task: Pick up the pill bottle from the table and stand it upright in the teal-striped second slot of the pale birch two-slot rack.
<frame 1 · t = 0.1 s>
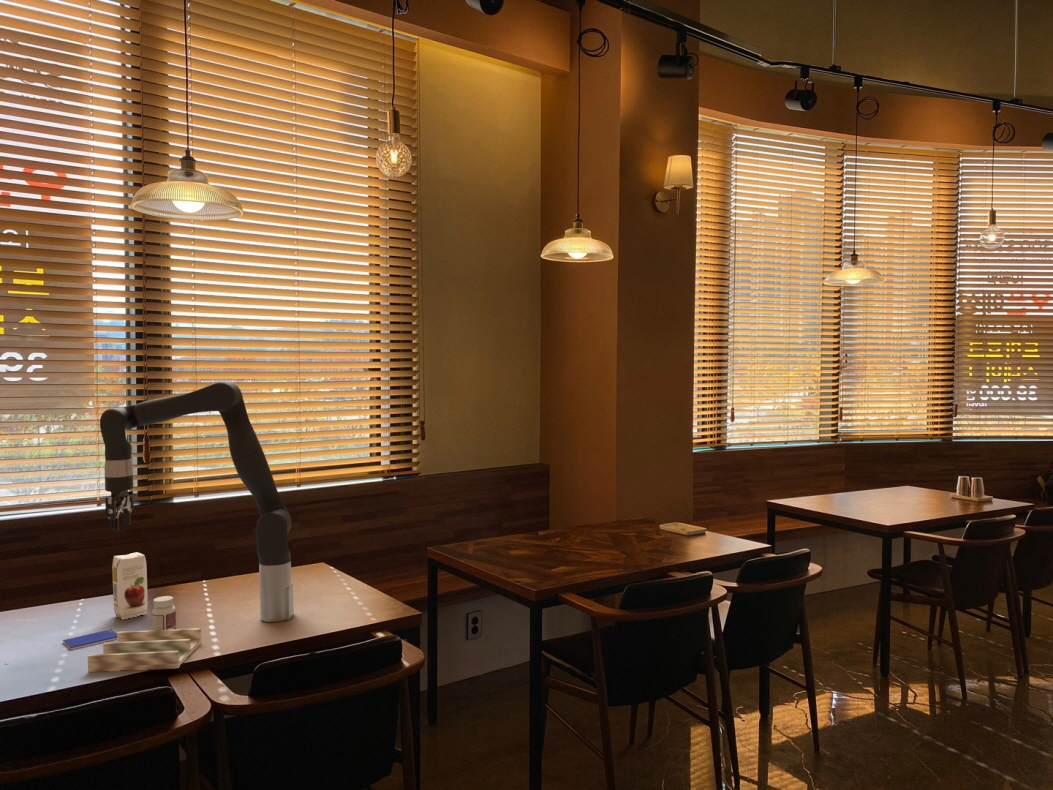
hand: (120, 528, 232), 29 cm above the table, tool pointing down, fingers open, 8 cm apart
slot rack: (147, 656, 206), on the table
pill bottle: (164, 638, 220), on the table
juice carton: (131, 616, 241), on the table
hard drive: (91, 643, 219), on the table
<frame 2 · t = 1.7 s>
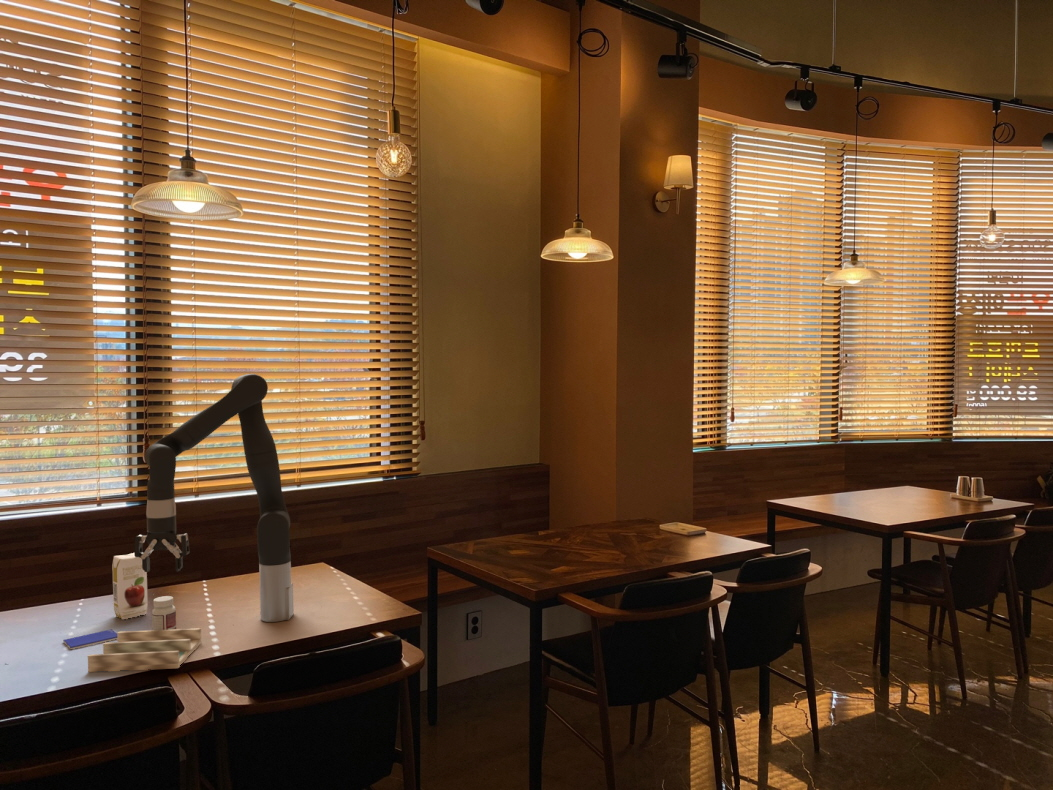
hand: (162, 571, 220), 19 cm above the table, tool pointing down, fingers open, 8 cm apart
nothing on the table moved.
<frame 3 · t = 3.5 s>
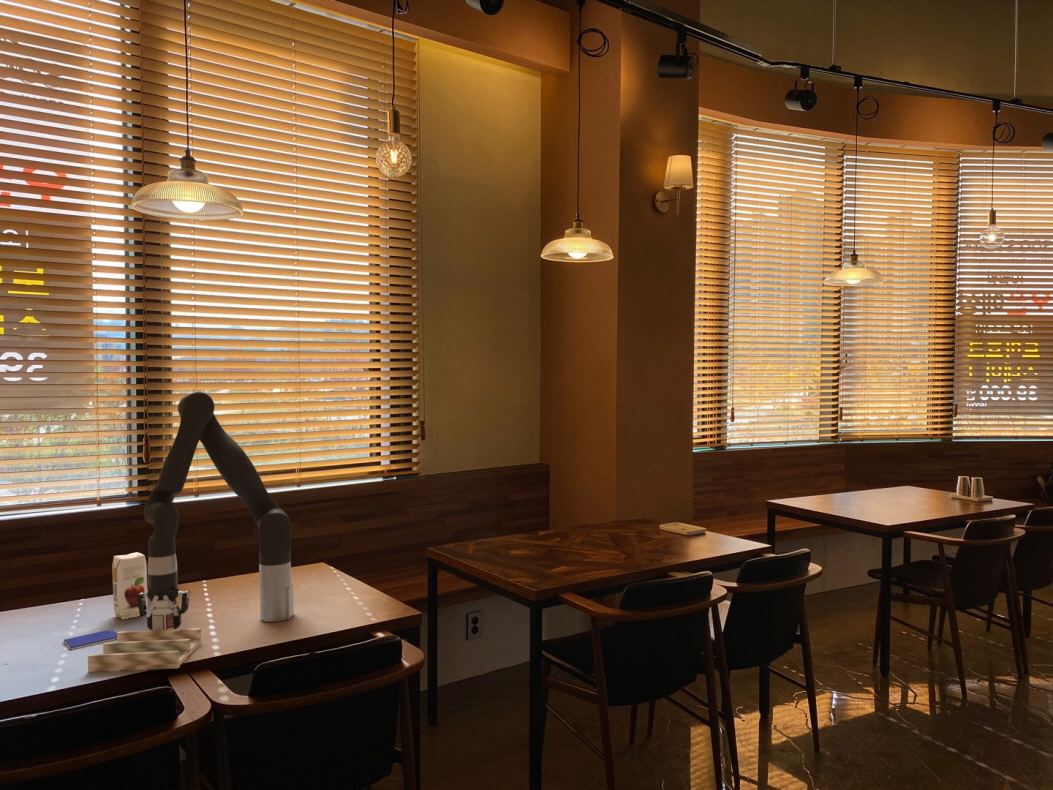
hand: (164, 628, 220), 3 cm above the table, tool pointing down, fingers closed on pill bottle, 6 cm apart
pill bottle: (164, 638, 220), on the table, touching gripper
everything else where it was.
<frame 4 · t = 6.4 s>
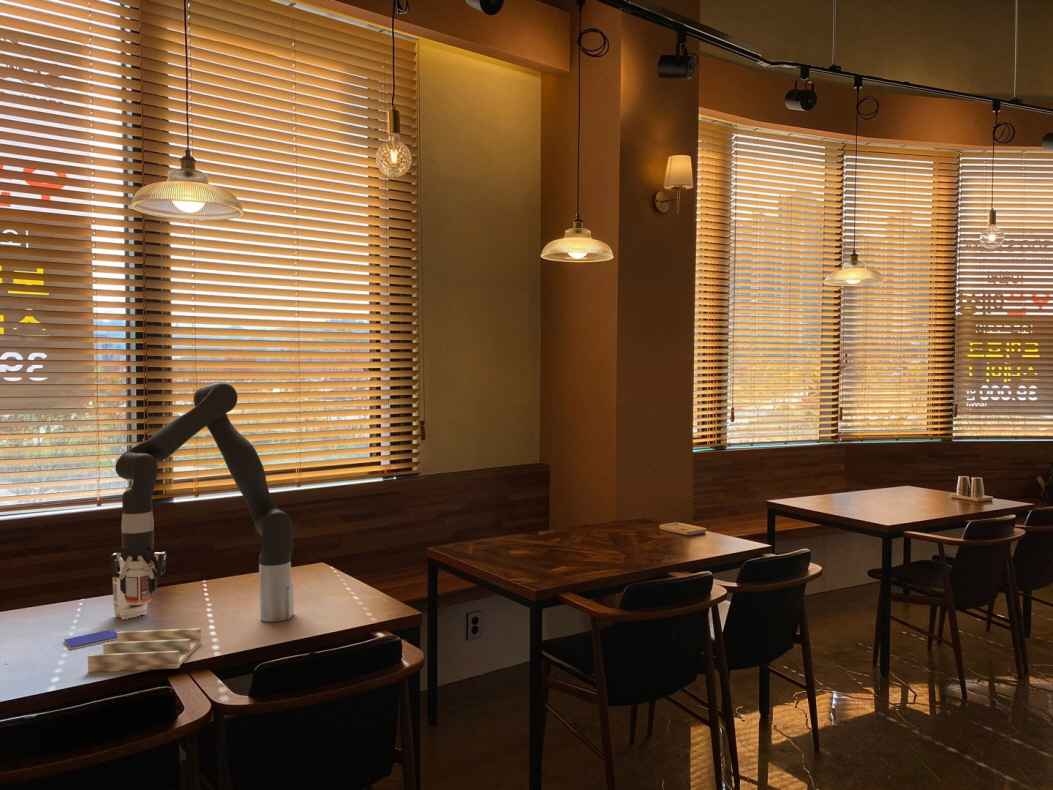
hand: (138, 592, 203), 18 cm above the table, tool pointing down, fingers closed on pill bottle, 6 cm apart
pill bottle: (139, 603, 203), point 15 cm above the table, touching gripper
everything else where it was.
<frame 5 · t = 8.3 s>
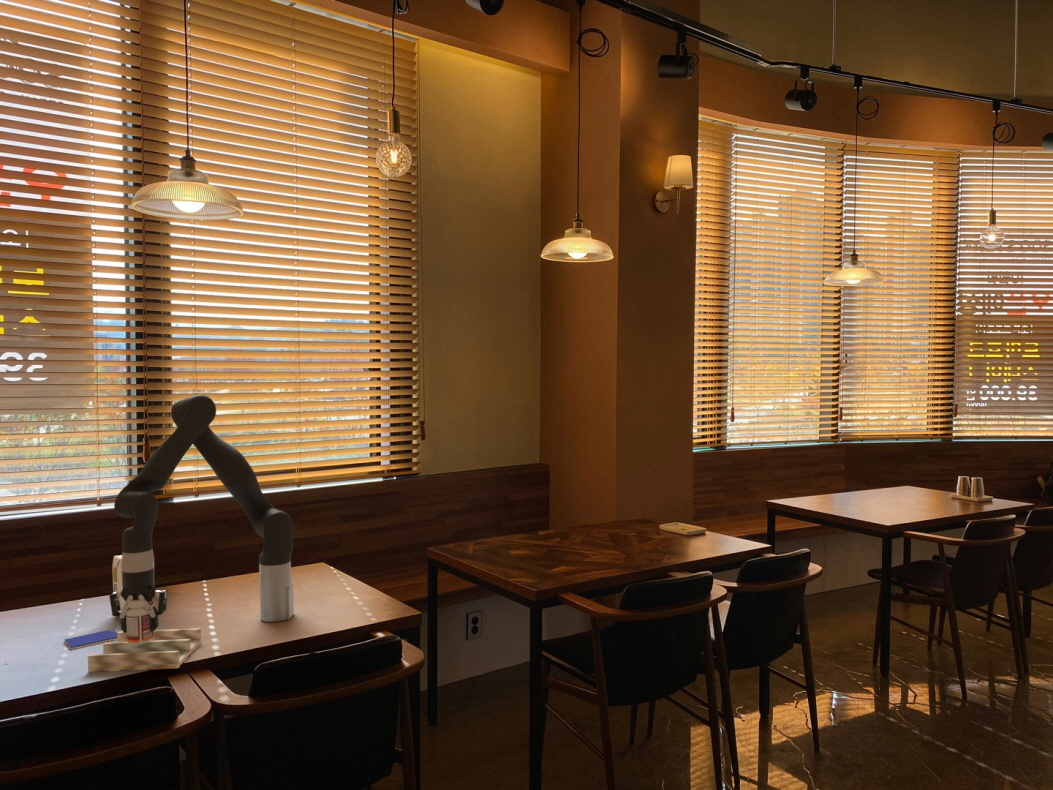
hand: (139, 630, 201), 8 cm above the table, tool pointing down, fingers closed on pill bottle, 6 cm apart
pill bottle: (140, 641, 201), point 6 cm above the table, touching gripper
everything else where it was.
when the fingers open (5 cm above the table, at t = 9.5 s): pill bottle drops 1 cm, resting on slot rack.
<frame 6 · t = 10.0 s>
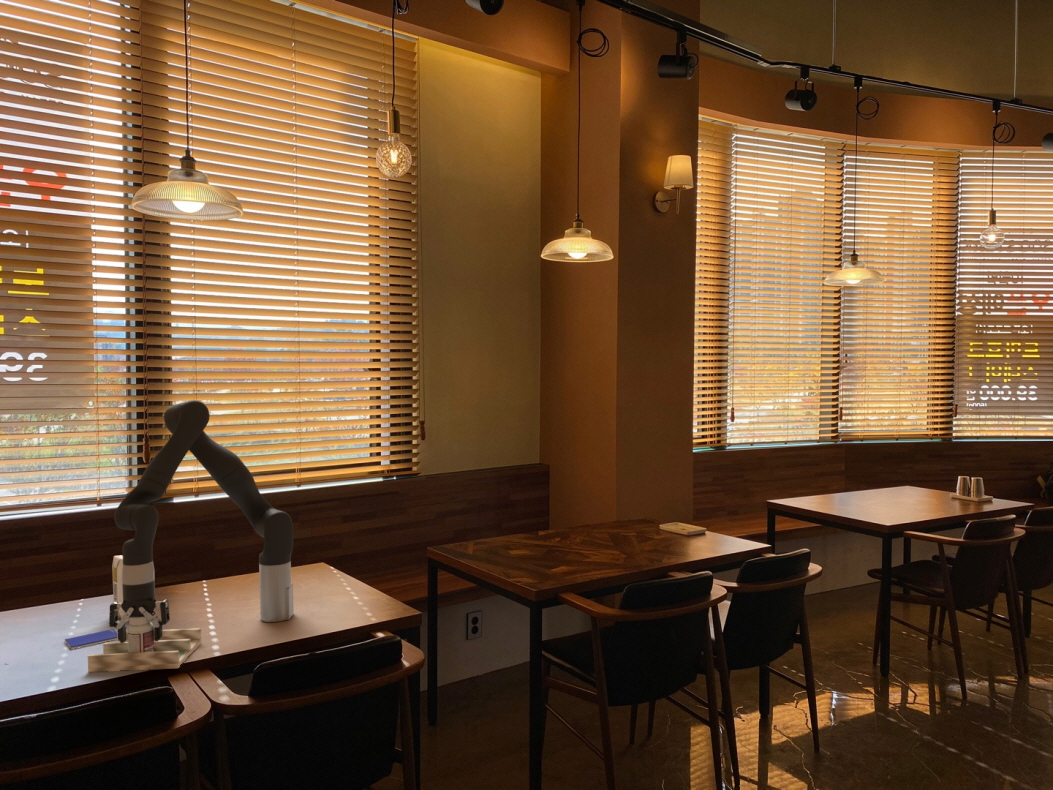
hand: (140, 641, 201), 6 cm above the table, tool pointing down, fingers open, 8 cm apart
pill bottle: (141, 658, 201), point 1 cm above the table, touching slot rack
everything else where it was.
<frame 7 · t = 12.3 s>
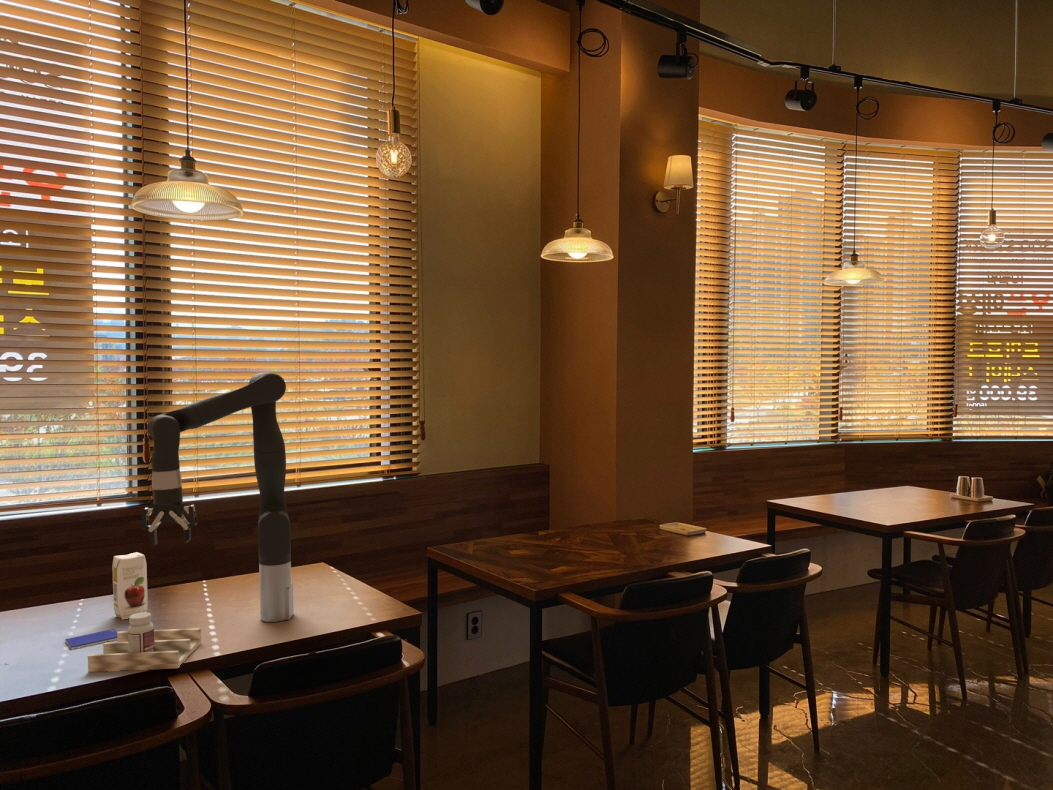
hand: (170, 543, 217), 28 cm above the table, tool pointing down, fingers open, 8 cm apart
nothing on the table moved.
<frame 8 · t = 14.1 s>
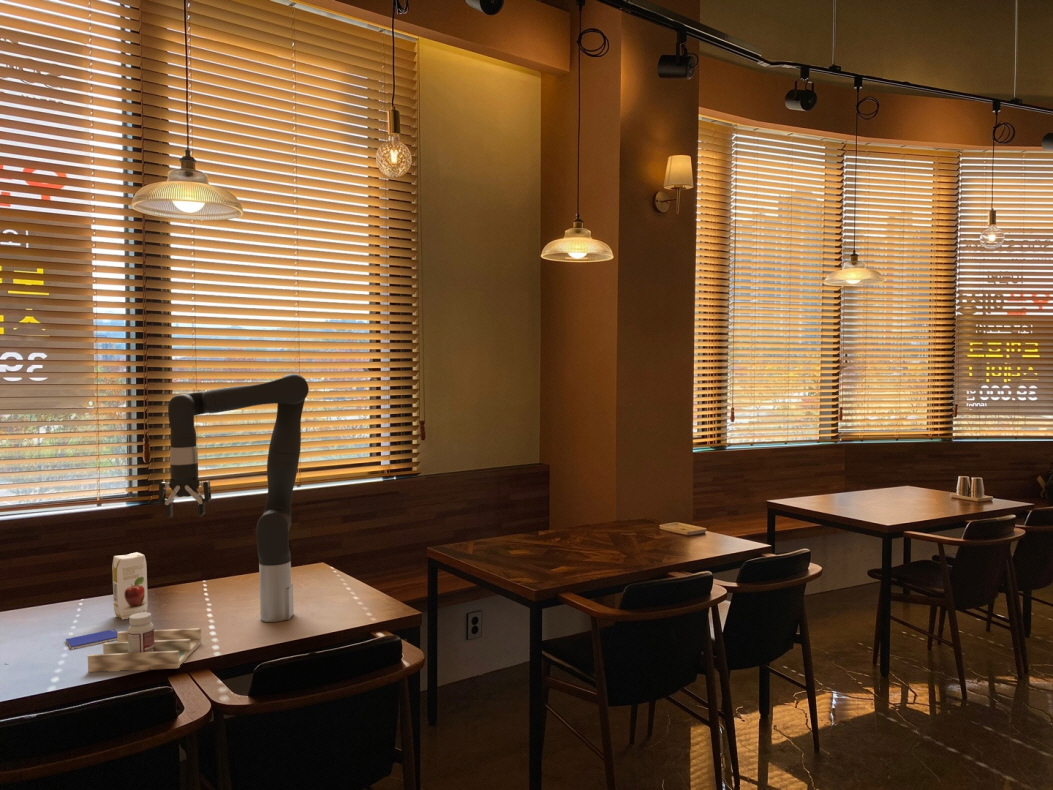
hand: (185, 516, 228), 33 cm above the table, tool pointing down, fingers open, 8 cm apart
nothing on the table moved.
at the end: pill bottle inside the target area on the slot rack (0.4 cm from its centre), point 1.1 cm above the slot rack's base; pill bottle tilted 0°; the gripper is holding nothing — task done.
